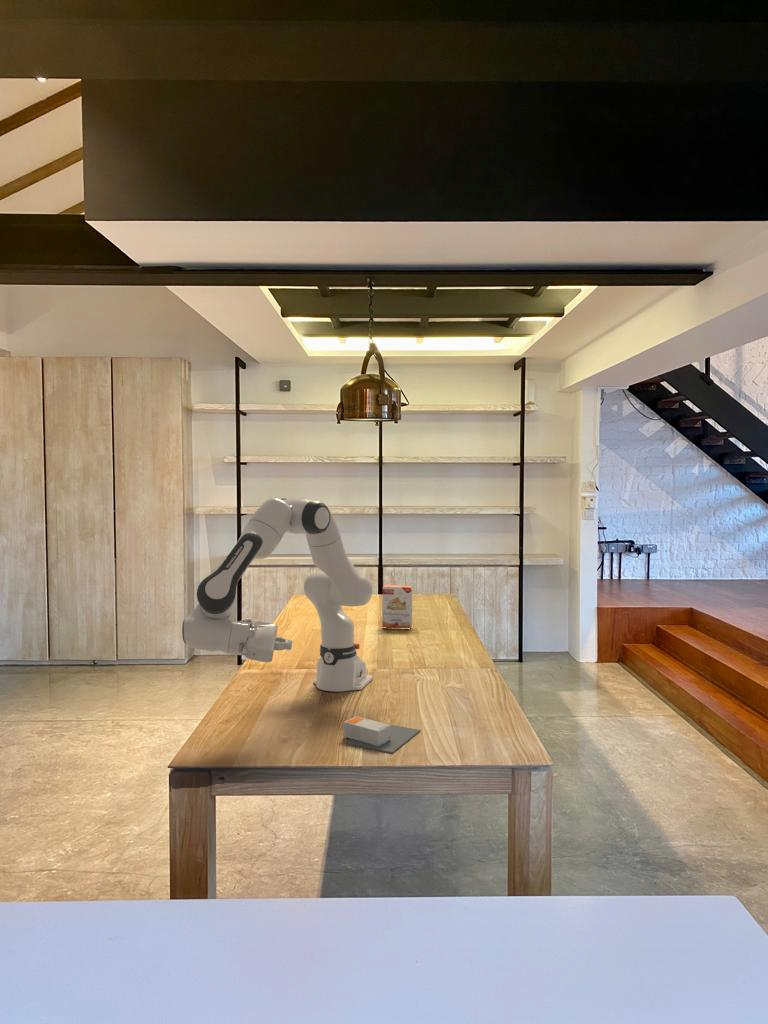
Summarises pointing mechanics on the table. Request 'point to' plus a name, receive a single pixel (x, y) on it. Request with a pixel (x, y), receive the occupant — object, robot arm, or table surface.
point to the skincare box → (367, 731)
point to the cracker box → (397, 606)
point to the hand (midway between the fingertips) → (291, 645)
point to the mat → (397, 740)
